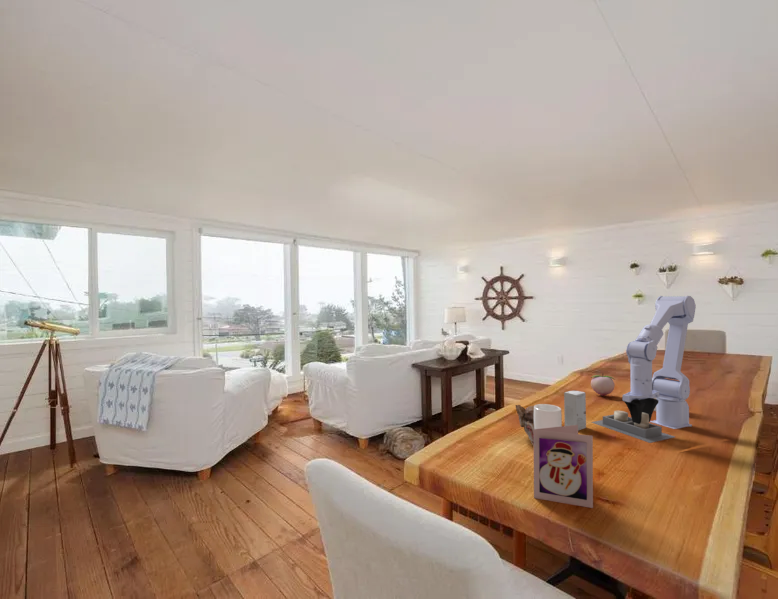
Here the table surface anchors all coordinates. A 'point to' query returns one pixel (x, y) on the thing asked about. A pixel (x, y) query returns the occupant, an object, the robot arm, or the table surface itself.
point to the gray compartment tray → (634, 429)
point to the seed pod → (527, 420)
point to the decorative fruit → (602, 384)
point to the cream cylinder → (643, 421)
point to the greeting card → (563, 466)
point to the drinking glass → (547, 416)
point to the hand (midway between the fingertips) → (641, 421)
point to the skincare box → (575, 409)
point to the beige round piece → (621, 416)
